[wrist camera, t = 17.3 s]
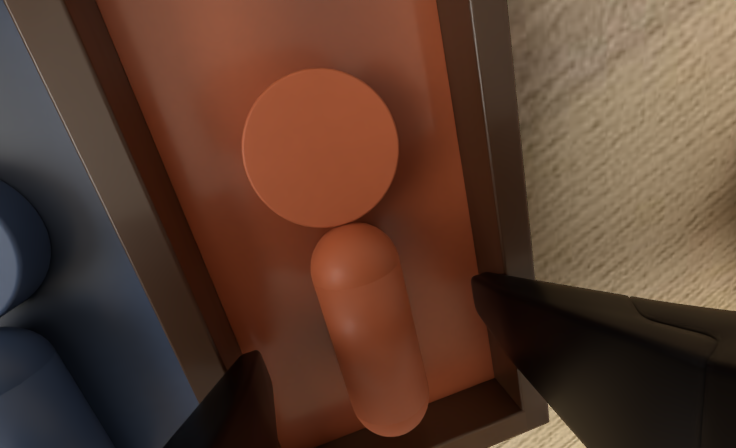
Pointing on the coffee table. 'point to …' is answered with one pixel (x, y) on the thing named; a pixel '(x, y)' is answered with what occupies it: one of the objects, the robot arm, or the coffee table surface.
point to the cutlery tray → (259, 205)
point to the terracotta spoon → (343, 230)
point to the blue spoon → (34, 347)
